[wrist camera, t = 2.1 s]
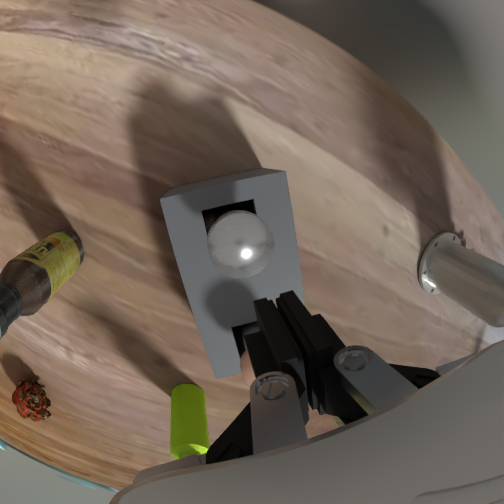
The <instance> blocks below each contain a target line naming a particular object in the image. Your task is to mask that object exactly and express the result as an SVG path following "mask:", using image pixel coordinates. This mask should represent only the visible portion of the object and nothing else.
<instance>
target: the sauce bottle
mask: <svg viewBox="0 0 504 504" xmlns="http://www.w3.org/2000/svg"><path fill="white" fill-rule="evenodd" d="M83 258H84V252H83V246H82V244H81V242H80V240H79V238H78V237H77V236H76V235H74V234H73V233H71V232H69V231H57V232H55V233H53V234H51V235H49V236H47V237H46V238H44V239H43V240H41V241H39V242H38V243H36V244H35V245H33V246H31V247H30V248H28V249H27V250H25V251H24V252H22V253H21V254H19V255H18V256H16V257H15V258H13V259H12V260H10V261H9V262H8V263H7V264H6V266H5V267H4V268H3V270H2V272H1V274H0V339H1V338H2V337H3V336H4V335H5V333H6V332H7V329H8V327H9V325H10V324H11V323H12V322H13V321H14V320H15V319H17V318H18V317H19V316H29V315H33V314H34V313H36V312H37V311H38V310H39V309H40V308H41V307H42V306H43V305H44V304H45V303H47V302H48V301H49V299H50V298H51V297H52V296H53V295H54V294H55V293H56V292H57V291H58V290H59V289H60V288H61V287H62V285H63V284H64V283H65V282H66V281H67V280H68V279H69V278H70V277H71V276H72V275H73V274H74V273H75V272H76V271H77V269H78V267H79V266H80V265H81V263H82V261H83Z"/></svg>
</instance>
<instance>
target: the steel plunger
mask: <svg viewBox="0 0 504 504" xmlns="http://www.w3.org/2000/svg"><path fill="white" fill-rule="evenodd" d="M274 247H275V242H274V236H273V233H272V231H271V229H270V228H269V226H268V225H267V224H266V223H265V222H264V221H263V220H262V219H261V218H260V217H259V216H257V215H256V214H254V213H252V212H249V211H244V210H226V211H224V212H222V213H221V214H220V215H219V216H218V217H217V219H216V221H215V222H214V223H213V225H212V226H211V228H210V230H209V233H208V237H207V248H208V254H209V258H210V260H211V262H212V264H213V265H214V267H215V268H216V269H217V270H218V271H219V272H221V273H222V274H224V275H226V276H229V277H232V278H247V277H251V276H254V275H256V274H257V273H259V272H261V271H262V270H263V269H264V268H265V267H266V266H267V265H268V263H269V262H270V260H271V258H272V256H273V253H274Z"/></svg>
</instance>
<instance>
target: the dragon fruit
mask: <svg viewBox="0 0 504 504" xmlns="http://www.w3.org/2000/svg"><path fill="white" fill-rule="evenodd" d="M24 382H25V381H21V380H19V382H18V384H17V386H16V390H15V391H14V393H13V394H12V401H13V403H14V404H15V405H16V407H17V411H18V413H19V415H20V416H21V417H22V418H23V419H26V418H30V419H31V420H33V421H34V422H35V421H40V420H41V419H43V420H44V419H45V418H41V417H45V416H48V417H47V418H49V417H50V416H51V414H50V412H49V411H47V409H46V408H48V407H49V406H51V401H50V400H49V399H48V398H47V397H46V393H45V391H44V390H43V389H42V388H41V387H40V386H39V385H38V384H37V383H36V382H35V381H34V380H31V379H30V380H28V381H27V382H26V383H24Z"/></svg>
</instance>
